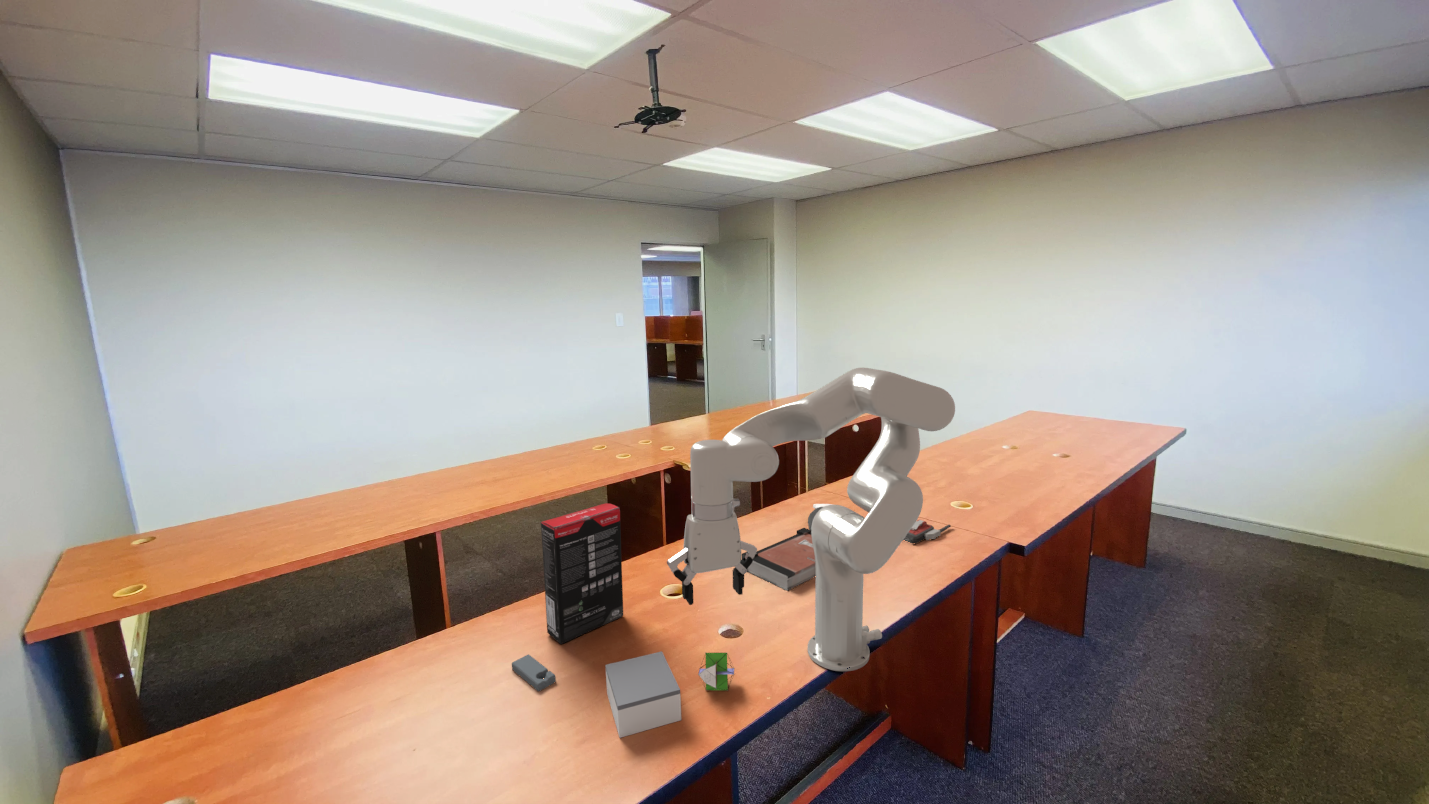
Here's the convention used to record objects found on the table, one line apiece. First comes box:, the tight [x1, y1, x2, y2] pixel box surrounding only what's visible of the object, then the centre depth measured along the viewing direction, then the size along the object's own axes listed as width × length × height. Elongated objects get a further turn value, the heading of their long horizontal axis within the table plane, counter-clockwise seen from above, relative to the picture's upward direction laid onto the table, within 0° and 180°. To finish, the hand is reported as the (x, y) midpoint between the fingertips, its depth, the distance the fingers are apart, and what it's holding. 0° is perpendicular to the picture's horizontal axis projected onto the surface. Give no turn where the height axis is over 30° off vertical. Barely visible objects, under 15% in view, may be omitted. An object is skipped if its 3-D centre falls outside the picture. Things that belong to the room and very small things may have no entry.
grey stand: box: [604, 651, 682, 738], centre depth 103 cm, size 11×12×6 cm
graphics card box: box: [540, 502, 624, 645], centre depth 128 cm, size 17×7×27 cm, turn 134°
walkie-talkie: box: [903, 519, 952, 544], centre depth 176 cm, size 9×4×20 cm
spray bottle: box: [807, 503, 835, 530], centre depth 190 cm, size 3×11×24 cm
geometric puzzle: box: [697, 652, 735, 691], centre depth 108 cm, size 7×7×8 cm
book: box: [741, 527, 816, 592], centre depth 158 cm, size 26×18×5 cm
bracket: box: [511, 654, 557, 692], centre depth 113 cm, size 4×10×2 cm, turn 47°
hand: (713, 596), depth 105 cm, fingers open, 9 cm apart
